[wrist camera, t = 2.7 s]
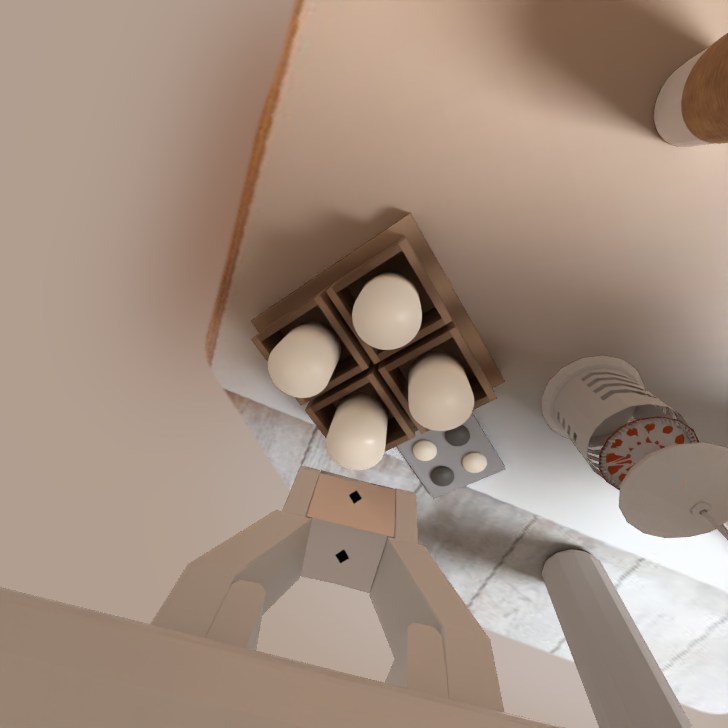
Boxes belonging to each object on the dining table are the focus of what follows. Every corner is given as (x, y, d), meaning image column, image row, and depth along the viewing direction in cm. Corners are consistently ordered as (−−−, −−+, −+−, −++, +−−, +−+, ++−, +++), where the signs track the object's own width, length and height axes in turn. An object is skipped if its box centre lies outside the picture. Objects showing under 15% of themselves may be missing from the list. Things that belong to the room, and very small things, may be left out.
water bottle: (525, 561, 47) (640, 899, 24) (584, 535, 44) (777, 883, 21) (563, 604, 49) (703, 953, 26) (621, 581, 46) (834, 944, 23)
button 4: (397, 424, 36) (396, 455, 31) (354, 445, 37) (347, 478, 32) (369, 383, 34) (364, 409, 30) (326, 406, 36) (314, 435, 31)
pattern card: (504, 465, 42) (506, 470, 41) (433, 495, 44) (433, 500, 44) (466, 404, 40) (468, 408, 39) (394, 439, 42) (393, 443, 41)
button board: (500, 373, 38) (517, 403, 32) (353, 445, 43) (345, 483, 37) (410, 213, 33) (411, 213, 27) (258, 315, 38) (230, 334, 32)
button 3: (474, 386, 33) (485, 413, 29) (425, 410, 35) (428, 440, 30) (447, 340, 32) (454, 361, 27) (397, 367, 33) (396, 392, 29)
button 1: (430, 311, 31) (434, 328, 27) (380, 340, 33) (375, 361, 28) (399, 259, 30) (398, 267, 25) (348, 292, 31) (338, 305, 27)
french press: (576, 339, 36) (885, 566, 13) (682, 385, 36) (1161, 680, 13) (522, 420, 40) (685, 707, 17) (619, 460, 40) (907, 791, 17)
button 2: (351, 357, 33) (343, 379, 29) (307, 382, 35) (292, 408, 30) (320, 310, 32) (305, 326, 28) (275, 338, 34) (255, 358, 29)
